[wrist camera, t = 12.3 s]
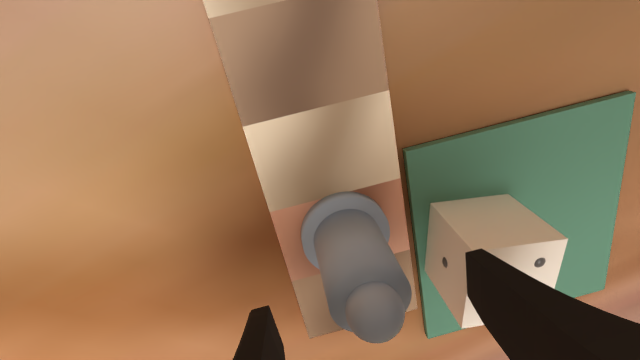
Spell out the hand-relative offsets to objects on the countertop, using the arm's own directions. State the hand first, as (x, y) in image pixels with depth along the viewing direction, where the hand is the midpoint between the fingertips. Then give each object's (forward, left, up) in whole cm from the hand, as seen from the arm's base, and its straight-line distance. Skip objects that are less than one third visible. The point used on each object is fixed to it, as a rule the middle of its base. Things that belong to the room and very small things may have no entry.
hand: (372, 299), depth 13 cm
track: (0, -4, -5) cm, 7 cm away
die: (-6, +2, -5) cm, 8 cm away
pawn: (0, 0, -5) cm, 5 cm away
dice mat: (-9, +3, -5) cm, 11 cm away
